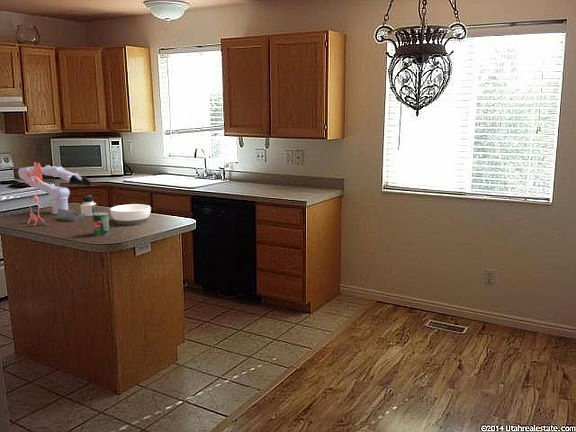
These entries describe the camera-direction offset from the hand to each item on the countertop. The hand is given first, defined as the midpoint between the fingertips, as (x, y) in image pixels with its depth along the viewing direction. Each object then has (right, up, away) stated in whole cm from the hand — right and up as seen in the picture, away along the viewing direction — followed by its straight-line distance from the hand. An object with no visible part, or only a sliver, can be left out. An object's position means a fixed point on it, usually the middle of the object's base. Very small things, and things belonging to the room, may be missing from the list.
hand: (86, 183), depth 320 cm
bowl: (+31, -23, -12) cm, 40 cm away
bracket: (-6, -21, -5) cm, 23 cm away
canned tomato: (+24, -29, -41) cm, 56 cm away
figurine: (-19, -24, -15) cm, 34 cm away
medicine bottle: (0, -19, +5) cm, 20 cm away
